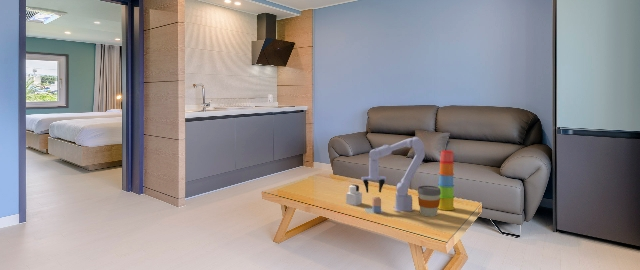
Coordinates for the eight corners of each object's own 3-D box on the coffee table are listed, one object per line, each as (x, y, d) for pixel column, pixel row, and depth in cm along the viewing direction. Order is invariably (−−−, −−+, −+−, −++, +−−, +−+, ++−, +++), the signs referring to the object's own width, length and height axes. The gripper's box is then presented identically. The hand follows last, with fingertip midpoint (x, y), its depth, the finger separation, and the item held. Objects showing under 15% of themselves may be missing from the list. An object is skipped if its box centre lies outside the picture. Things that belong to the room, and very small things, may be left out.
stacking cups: (433, 207, 220) (434, 151, 216) (443, 204, 226) (444, 149, 222) (448, 212, 211) (450, 153, 208) (458, 208, 218) (460, 151, 214)
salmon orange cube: (379, 203, 213) (379, 197, 213) (380, 205, 209) (381, 199, 209) (372, 204, 213) (372, 197, 212) (374, 206, 209) (374, 199, 208)
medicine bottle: (352, 201, 233) (352, 183, 232) (361, 203, 229) (362, 184, 227) (346, 204, 228) (346, 185, 226) (355, 206, 223) (355, 187, 222)
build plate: (379, 208, 219) (379, 207, 219) (384, 213, 209) (384, 212, 209) (363, 208, 219) (363, 207, 218) (367, 213, 209) (367, 213, 209)
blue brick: (379, 210, 213) (379, 203, 213) (380, 212, 209) (380, 206, 209) (372, 210, 213) (372, 204, 212) (374, 213, 209) (374, 206, 208)
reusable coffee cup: (413, 211, 213) (413, 186, 212) (432, 209, 216) (433, 184, 215) (424, 218, 201) (424, 191, 199) (444, 216, 204) (445, 190, 202)
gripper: (384, 168, 221) (383, 190, 223) (360, 168, 220) (360, 190, 221) (387, 170, 214) (386, 193, 216) (362, 171, 213) (362, 193, 214)
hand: (373, 192), depth 218 cm, fingers open, 7 cm apart
